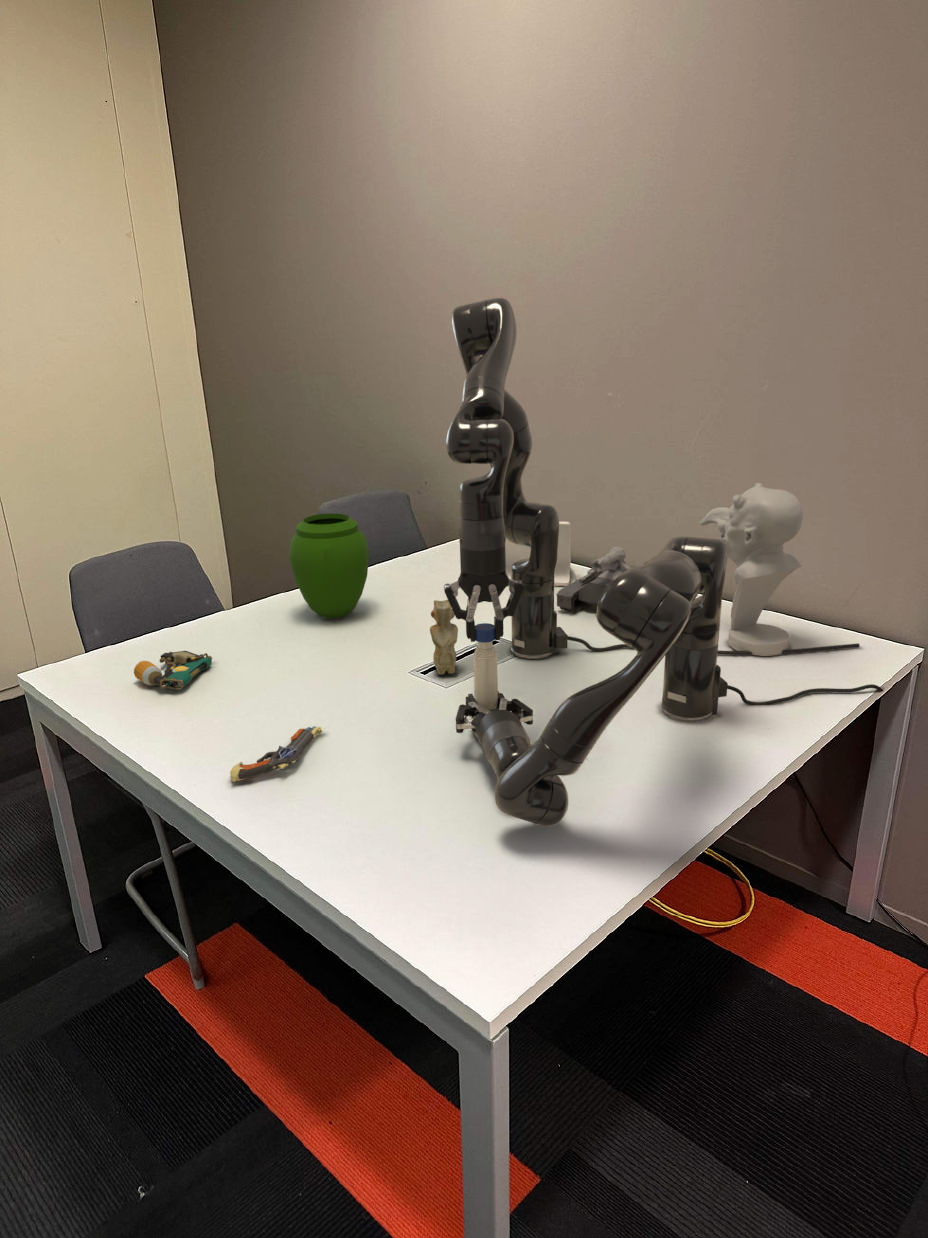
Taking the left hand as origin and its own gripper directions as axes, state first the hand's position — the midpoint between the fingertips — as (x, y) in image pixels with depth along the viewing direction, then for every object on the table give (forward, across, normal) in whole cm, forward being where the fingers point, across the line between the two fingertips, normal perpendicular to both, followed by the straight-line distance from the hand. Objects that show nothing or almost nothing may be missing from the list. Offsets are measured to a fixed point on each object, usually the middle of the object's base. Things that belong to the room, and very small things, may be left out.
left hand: (484, 639), depth 146 cm
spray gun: (+18, +62, -34) cm, 73 cm away
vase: (+18, +32, -67) cm, 77 cm away
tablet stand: (+19, -20, -91) cm, 95 cm away
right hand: (+12, 0, -3) cm, 13 cm away
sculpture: (+18, +6, -29) cm, 35 cm away
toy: (+19, -39, -63) cm, 77 cm away
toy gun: (+18, +37, +4) cm, 41 cm away
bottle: (+18, 0, 0) cm, 18 cm away
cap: (-2, 0, 0) cm, 2 cm away
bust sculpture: (+19, -60, -35) cm, 72 cm away
